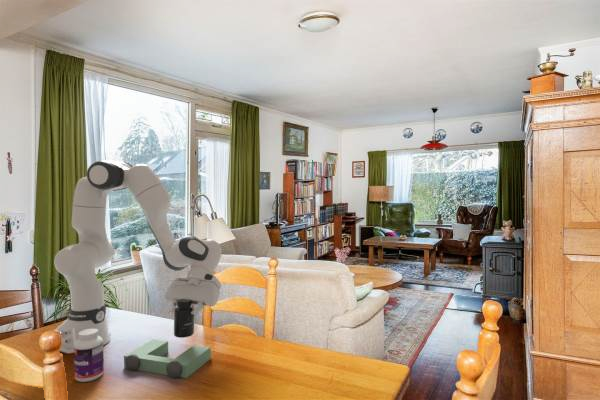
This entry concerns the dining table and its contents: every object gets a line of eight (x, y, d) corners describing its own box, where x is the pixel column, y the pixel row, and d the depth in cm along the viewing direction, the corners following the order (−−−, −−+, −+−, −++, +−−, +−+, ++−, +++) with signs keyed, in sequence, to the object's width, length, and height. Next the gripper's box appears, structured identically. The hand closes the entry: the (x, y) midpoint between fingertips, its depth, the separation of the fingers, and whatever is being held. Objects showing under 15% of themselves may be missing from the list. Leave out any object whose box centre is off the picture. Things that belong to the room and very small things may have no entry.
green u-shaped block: (121, 369, 124) (121, 354, 124) (153, 350, 138) (152, 336, 138) (184, 380, 116) (183, 363, 116) (210, 358, 131) (210, 344, 131)
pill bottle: (68, 380, 117) (66, 334, 117) (91, 369, 125) (90, 325, 124) (87, 385, 114) (85, 338, 114) (109, 373, 122) (108, 328, 121)
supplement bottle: (188, 338, 129) (188, 303, 129) (170, 337, 130) (170, 302, 130) (197, 331, 136) (197, 298, 136) (180, 330, 137) (180, 297, 137)
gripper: (171, 273, 142) (153, 306, 133) (219, 276, 136) (204, 312, 127) (178, 282, 147) (162, 315, 138) (225, 286, 140) (212, 321, 131)
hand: (183, 314), depth 132 cm, fingers closed on supplement bottle, 7 cm apart
